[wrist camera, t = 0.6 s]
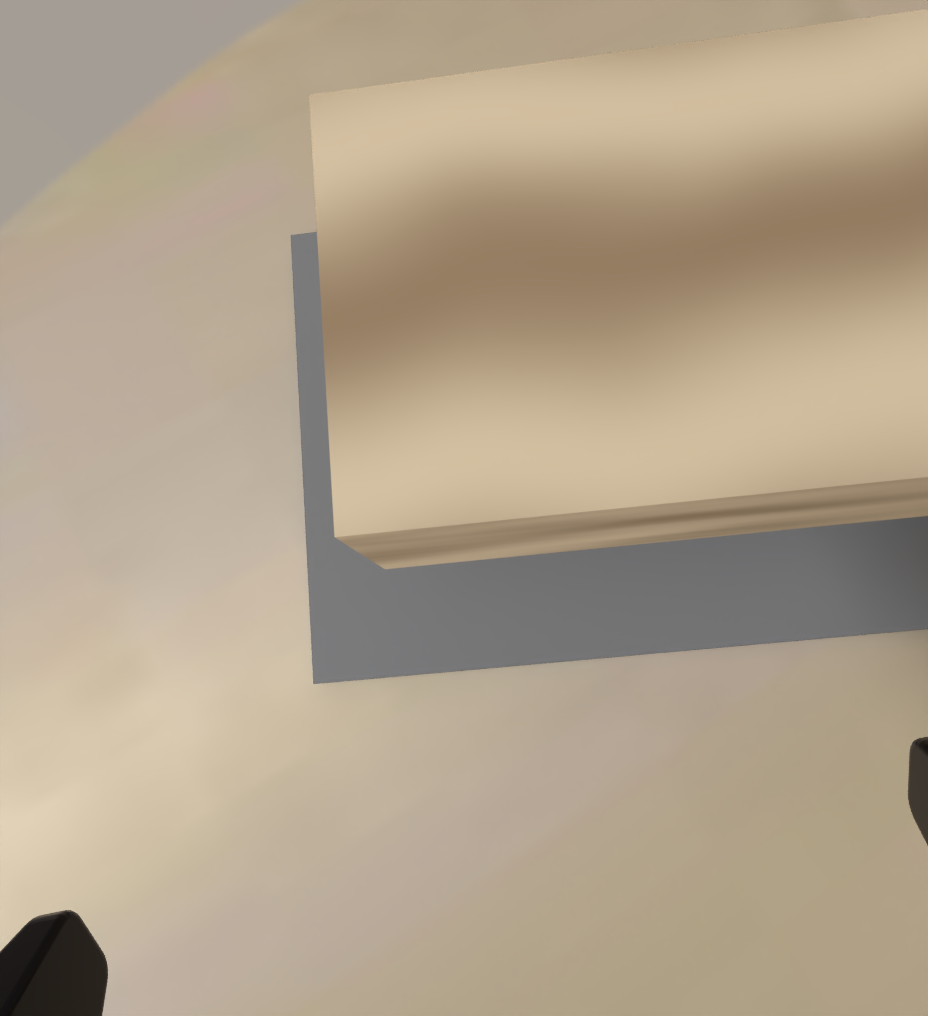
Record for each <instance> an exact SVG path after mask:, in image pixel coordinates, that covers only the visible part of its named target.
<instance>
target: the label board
mask: <svg viewBox="0 0 928 1016" xmlns="http://www.w3.org/2000/svg"><path fill="white" fill-rule="evenodd" d="M291 250H292V270H293V290H294V309H295V329H296V349H297V369H298V388H299V408H300V428H301V448H302V467H303V487H304V507H305V527H306V546H307V566H308V586H309V606H310V626H311V645H312V665H313V684H319V683H330V682H341V681H352V680H364V679H375V678H386V677H397V676H408V675H419V674H431V673H442V672H453V671H464V670H475V669H487V668H498V667H509V666H520V665H531V664H542V663H554V662H565V661H576V660H587V659H598V658H609V657H621V656H632V655H643V654H654V653H665V652H676V651H688V650H699V649H710V648H721V647H732V646H743V645H755V644H766V643H777V642H788V641H799V640H811V639H822V638H833V637H844V636H855V635H866V634H878V633H889V632H900V631H911V630H922V629H928V516H922V517H912V518H901V519H891V520H881V521H871V522H861V523H851V524H841V525H830V526H820V527H810V528H800V529H790V530H780V531H769V532H759V533H749V534H739V535H729V536H719V537H709V538H698V539H688V540H678V541H668V542H658V543H648V544H638V545H627V546H617V547H607V548H597V549H587V550H577V551H566V552H556V553H546V554H536V555H526V556H516V557H506V558H495V559H485V560H475V561H465V562H455V563H445V564H434V565H424V566H414V567H404V568H394V569H383V568H382V567H380V566H379V565H377V564H376V563H374V562H372V561H371V560H369V559H368V558H366V557H365V556H363V555H362V554H360V553H358V552H357V551H355V550H354V549H352V548H351V547H349V546H347V545H346V544H344V543H343V542H341V541H340V540H338V539H336V538H335V537H334V520H333V503H332V485H331V468H330V450H329V433H328V416H327V398H326V381H325V363H324V346H323V329H322V311H321V294H320V276H319V259H318V241H317V232H313V233H305V234H297V235H291Z"/></svg>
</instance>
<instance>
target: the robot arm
mask: <svg viewBox="0 0 928 1016" xmlns="http://www.w3.org/2000/svg"><path fill="white" fill-rule="evenodd" d="M908 800H909V805H910V809H911V812H912V814H913V817H914V819H915V821H916V823H917V825H918V827H919V829H920V831H921V833H922V835H923V837H924V839H925V841H926V843H927V845H928V737H924V738H919V739H917V740H915V741H914V742H913V743H912V745H911V747H910V756H909V781H908ZM107 979H108V967H107V961H106V958H105V955H104V953H103V951H102V950H101V948H100V947H99V945H98V944H97V942H96V941H95V939H94V937H93V936H92V934H91V933H90V931H89V930H88V928H87V927H86V925H85V924H84V922H83V920H82V919H81V917H80V916H79V915H78V914H77V913H75V912H73V911H71V910H65V911H60V912H55V913H50V914H45V915H41V916H37V917H35V918H33V919H32V920H30V921H29V922H28V923H27V924H26V925H25V926H24V927H23V928H22V929H21V930H20V931H19V932H18V933H17V934H16V935H15V937H14V938H13V939H12V940H11V941H10V942H9V943H8V944H7V945H6V946H5V947H4V948H3V949H2V950H1V951H0V1016H102V1012H103V1006H104V1000H105V993H106V987H107Z"/></svg>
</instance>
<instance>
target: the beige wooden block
mask: <svg viewBox="0 0 928 1016" xmlns="http://www.w3.org/2000/svg"><path fill="white" fill-rule="evenodd" d="M309 102H310V120H311V137H312V154H313V172H314V189H315V207H316V224H317V241H318V259H319V276H320V294H321V311H322V329H323V346H324V363H325V381H326V398H327V416H328V433H329V450H330V468H331V485H332V503H333V520H334V537H335V538H336V539H338V540H340V541H341V542H343V543H344V544H346V545H347V546H349V547H351V548H352V549H354V550H355V551H357V552H358V553H360V554H362V555H363V556H365V557H366V558H368V559H369V560H371V561H372V562H374V563H376V564H377V565H379V566H380V567H382V568H383V569H394V568H404V567H414V566H424V565H434V564H445V563H455V562H465V561H475V560H485V559H495V558H506V557H516V556H526V555H536V554H546V553H556V552H566V551H577V550H587V549H597V548H607V547H617V546H627V545H638V544H648V543H658V542H668V541H678V540H688V539H698V538H709V537H719V536H729V535H739V534H749V533H759V532H769V531H780V530H790V529H800V528H810V527H820V526H830V525H841V524H851V523H861V522H871V521H881V520H891V519H901V518H912V517H922V516H928V9H924V10H917V11H910V12H902V13H895V14H888V15H881V16H874V17H866V18H859V19H852V20H845V21H838V22H830V23H823V24H816V25H809V26H802V27H794V28H787V29H780V30H773V31H766V32H758V33H751V34H744V35H737V36H730V37H722V38H715V39H708V40H701V41H694V42H686V43H679V44H672V45H665V46H658V47H650V48H643V49H636V50H629V51H622V52H614V53H607V54H600V55H593V56H586V57H578V58H571V59H564V60H557V61H549V62H542V63H535V64H528V65H521V66H513V67H506V68H499V69H492V70H485V71H477V72H470V73H463V74H456V75H449V76H441V77H434V78H427V79H420V80H413V81H405V82H398V83H391V84H384V85H377V86H369V87H362V88H355V89H348V90H341V91H333V92H326V93H319V94H312V95H309Z"/></svg>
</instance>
